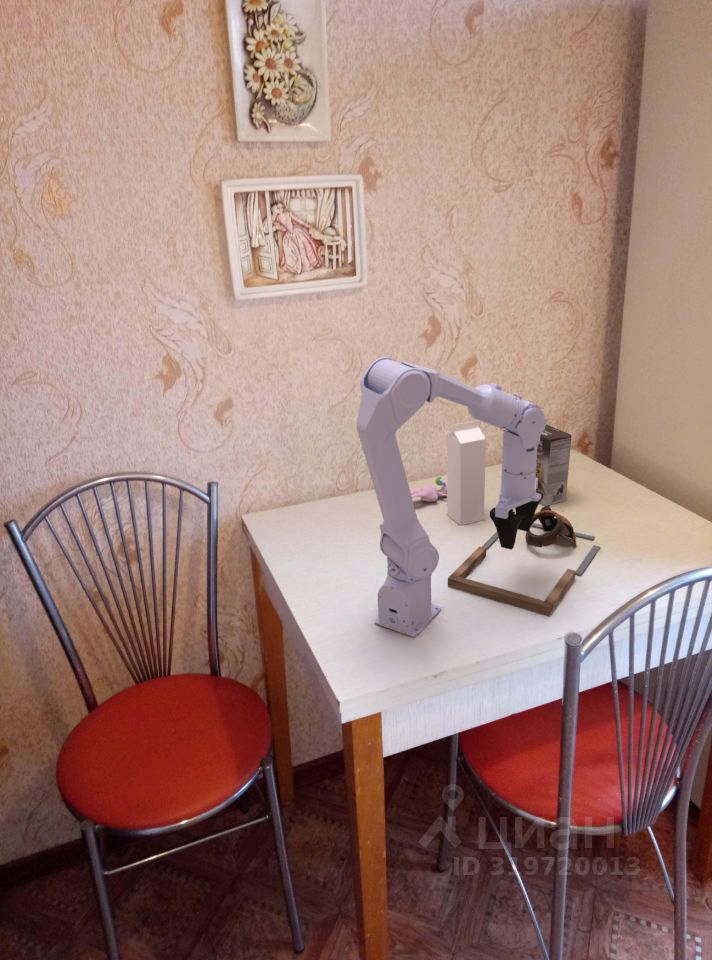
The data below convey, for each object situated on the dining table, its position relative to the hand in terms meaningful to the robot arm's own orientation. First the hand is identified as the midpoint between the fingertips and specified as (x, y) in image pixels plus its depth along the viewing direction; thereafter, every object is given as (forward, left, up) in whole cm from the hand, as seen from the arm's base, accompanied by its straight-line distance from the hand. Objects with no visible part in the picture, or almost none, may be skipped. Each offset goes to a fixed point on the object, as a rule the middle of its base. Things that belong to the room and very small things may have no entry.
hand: (515, 538), depth 122 cm
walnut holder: (-1, 0, -9) cm, 9 cm away
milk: (+19, +19, -9) cm, 28 cm away
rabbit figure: (+24, +30, -9) cm, 39 cm away
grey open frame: (+15, 0, -9) cm, 17 cm away
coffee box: (+37, +8, -9) cm, 39 cm away
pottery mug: (+17, -1, -9) cm, 19 cm away
